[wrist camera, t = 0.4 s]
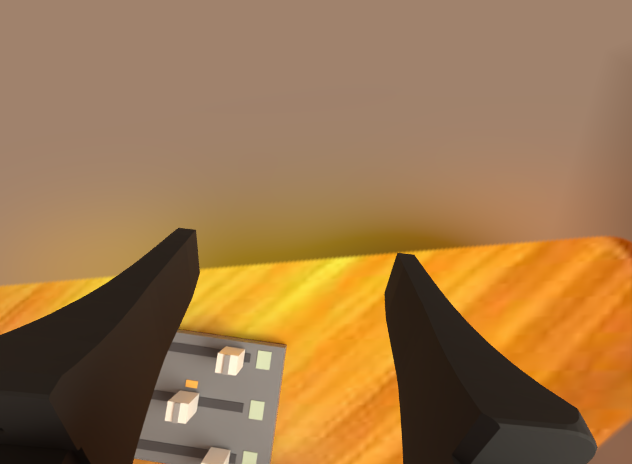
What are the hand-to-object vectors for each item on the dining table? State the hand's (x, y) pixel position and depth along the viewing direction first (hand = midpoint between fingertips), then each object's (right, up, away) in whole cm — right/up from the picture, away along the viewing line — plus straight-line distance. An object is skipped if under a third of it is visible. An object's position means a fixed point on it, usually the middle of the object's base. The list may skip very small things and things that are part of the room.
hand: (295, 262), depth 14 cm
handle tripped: (-12, -16, +25) cm, 32 cm away
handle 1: (-8, -12, +25) cm, 29 cm away
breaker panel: (-13, -16, +27) cm, 34 cm away
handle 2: (-9, -22, +24) cm, 34 cm away
